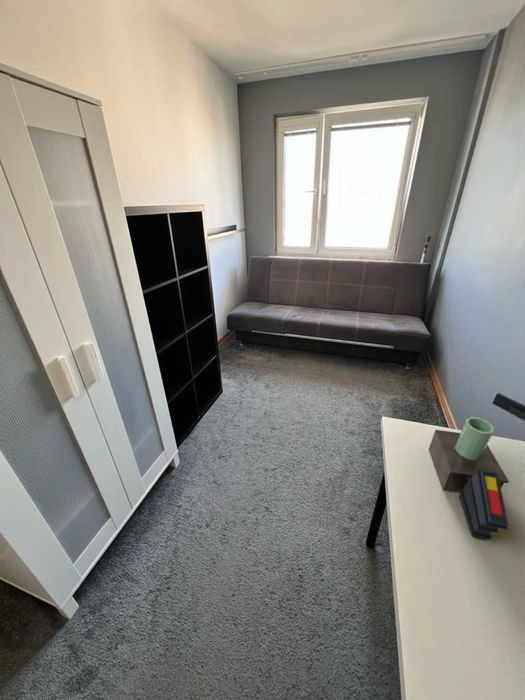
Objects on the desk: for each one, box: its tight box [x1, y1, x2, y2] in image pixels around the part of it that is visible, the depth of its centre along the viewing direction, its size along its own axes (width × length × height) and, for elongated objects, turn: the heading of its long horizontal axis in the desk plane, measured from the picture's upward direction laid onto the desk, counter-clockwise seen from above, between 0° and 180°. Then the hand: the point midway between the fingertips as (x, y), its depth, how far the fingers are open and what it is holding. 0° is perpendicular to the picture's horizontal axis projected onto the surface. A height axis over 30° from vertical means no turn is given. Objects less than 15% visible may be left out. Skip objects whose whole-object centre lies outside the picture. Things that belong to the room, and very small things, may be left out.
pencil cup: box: [455, 416, 495, 460], centre depth 75 cm, size 6×6×10 cm
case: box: [428, 432, 505, 494], centre depth 80 cm, size 15×13×8 cm
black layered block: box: [458, 470, 509, 541], centre depth 67 cm, size 4×13×15 cm, turn 163°
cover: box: [434, 429, 510, 484], centre depth 78 cm, size 16×13×1 cm
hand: (512, 389), depth 65 cm, fingers open, 13 cm apart
